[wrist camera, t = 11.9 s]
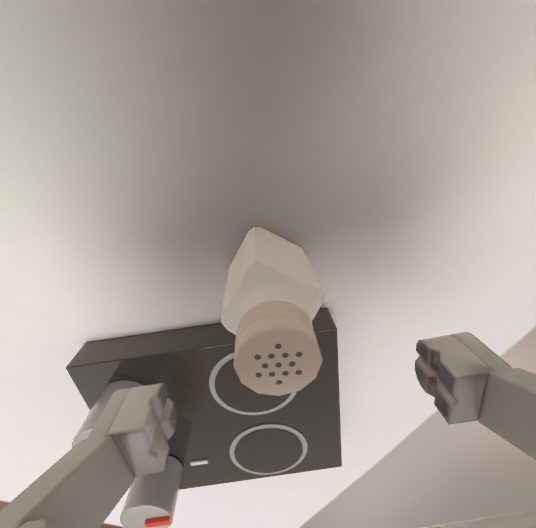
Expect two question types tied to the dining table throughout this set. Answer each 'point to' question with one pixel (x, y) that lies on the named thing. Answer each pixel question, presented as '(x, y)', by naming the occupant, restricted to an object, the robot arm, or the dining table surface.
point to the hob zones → (239, 401)
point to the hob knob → (153, 498)
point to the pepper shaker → (272, 314)
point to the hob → (203, 403)
